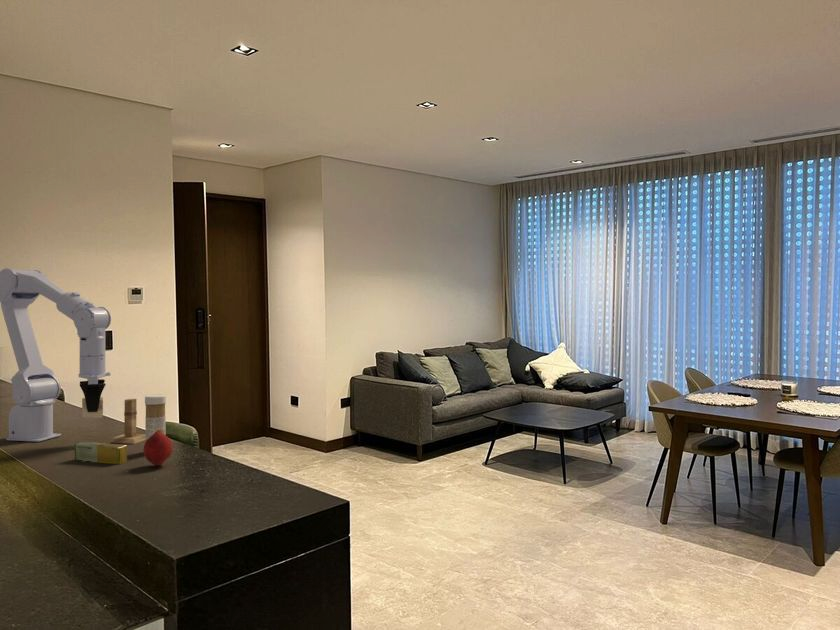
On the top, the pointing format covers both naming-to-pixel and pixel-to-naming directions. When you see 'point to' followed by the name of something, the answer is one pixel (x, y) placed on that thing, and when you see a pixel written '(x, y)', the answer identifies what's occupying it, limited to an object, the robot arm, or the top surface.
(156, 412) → the sprinkles bottle
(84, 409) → the cube
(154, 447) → the onion
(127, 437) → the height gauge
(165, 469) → the top surface
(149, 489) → the top surface
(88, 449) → the medication box
